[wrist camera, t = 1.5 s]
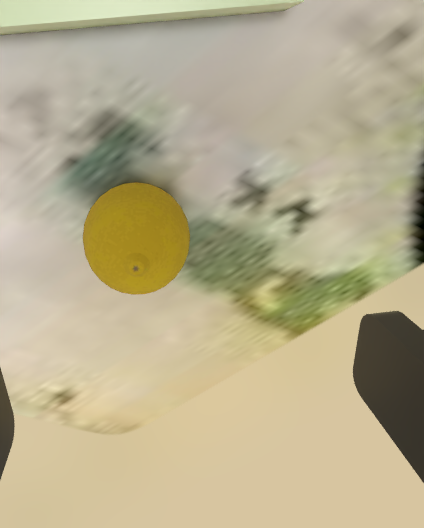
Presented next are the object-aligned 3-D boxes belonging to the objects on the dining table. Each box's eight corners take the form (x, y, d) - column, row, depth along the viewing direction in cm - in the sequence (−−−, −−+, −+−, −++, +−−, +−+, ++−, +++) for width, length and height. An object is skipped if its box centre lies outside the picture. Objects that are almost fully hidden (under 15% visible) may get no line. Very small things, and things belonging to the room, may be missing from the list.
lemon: (109, 154, 23) (93, 189, 16) (196, 189, 25) (217, 235, 18) (80, 238, 25) (55, 302, 18) (164, 265, 27) (171, 334, 20)
